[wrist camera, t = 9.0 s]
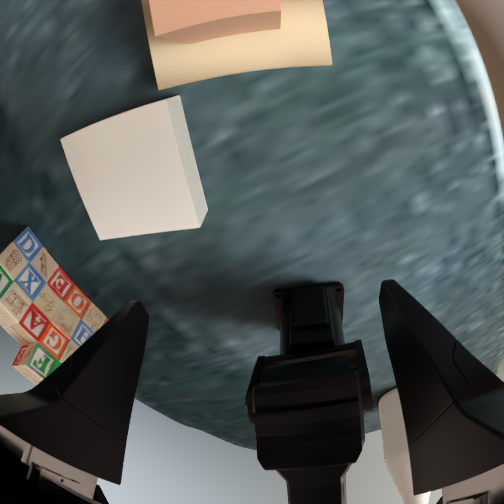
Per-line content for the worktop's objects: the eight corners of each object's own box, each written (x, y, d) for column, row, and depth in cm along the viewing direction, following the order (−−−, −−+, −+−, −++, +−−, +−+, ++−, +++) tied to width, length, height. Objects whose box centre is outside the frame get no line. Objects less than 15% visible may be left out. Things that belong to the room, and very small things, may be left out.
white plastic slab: (209, 207, 22) (200, 227, 19) (115, 221, 23) (100, 240, 21) (181, 94, 17) (165, 99, 14) (82, 128, 18) (60, 139, 16)
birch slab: (324, 65, 15) (332, 65, 12) (175, 86, 16) (158, 90, 14) (300, -56, 9) (303, -73, 7) (154, -29, 11) (135, -40, 8)
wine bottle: (371, 407, 43) (378, 552, 19) (386, 385, 37) (399, 558, 13) (415, 399, 41) (430, 537, 18) (436, 376, 36) (459, 536, 12)
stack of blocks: (12, 242, 26) (-43, 309, 16) (29, 223, 24) (-38, 299, 14) (111, 349, 37) (83, 419, 27) (138, 345, 35) (109, 425, 25)
